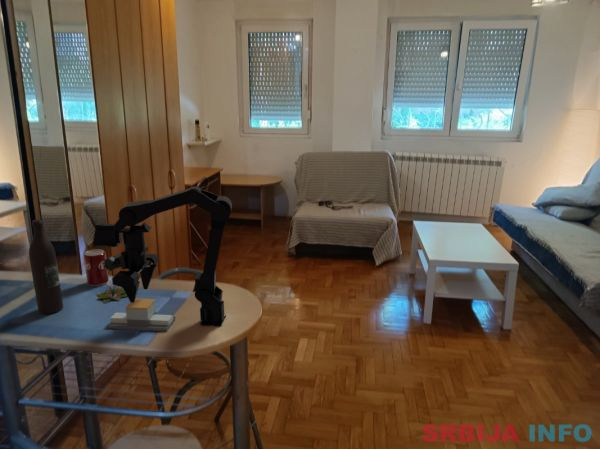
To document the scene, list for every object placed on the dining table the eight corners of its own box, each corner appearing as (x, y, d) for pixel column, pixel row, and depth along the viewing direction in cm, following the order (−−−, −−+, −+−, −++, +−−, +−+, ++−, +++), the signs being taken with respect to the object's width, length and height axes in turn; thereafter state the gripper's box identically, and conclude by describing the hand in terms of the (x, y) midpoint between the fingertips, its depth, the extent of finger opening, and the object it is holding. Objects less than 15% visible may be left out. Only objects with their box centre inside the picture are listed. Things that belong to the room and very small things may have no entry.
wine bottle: (52, 316, 137) (37, 224, 128) (33, 313, 138) (17, 222, 130) (68, 306, 143) (55, 218, 135) (49, 303, 145) (35, 216, 136)
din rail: (175, 319, 135) (174, 312, 135) (167, 331, 129) (166, 323, 128) (119, 317, 137) (118, 309, 136) (108, 328, 130) (107, 320, 129)
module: (156, 316, 135) (154, 299, 133) (148, 326, 129) (147, 308, 128) (136, 315, 135) (134, 298, 134) (127, 325, 130) (125, 307, 128)
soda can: (85, 287, 157) (81, 256, 154) (89, 279, 164) (85, 249, 160) (107, 285, 159) (103, 255, 156) (110, 278, 166) (106, 248, 162)
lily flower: (100, 308, 143) (99, 295, 142) (90, 295, 152) (88, 283, 151) (136, 297, 151) (135, 285, 150) (124, 286, 160) (123, 275, 158)
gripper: (122, 235, 135) (127, 281, 139) (90, 256, 117) (97, 308, 122) (157, 236, 134) (161, 283, 139) (130, 257, 117) (135, 310, 121)
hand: (139, 295), depth 130 cm, fingers open, 9 cm apart
